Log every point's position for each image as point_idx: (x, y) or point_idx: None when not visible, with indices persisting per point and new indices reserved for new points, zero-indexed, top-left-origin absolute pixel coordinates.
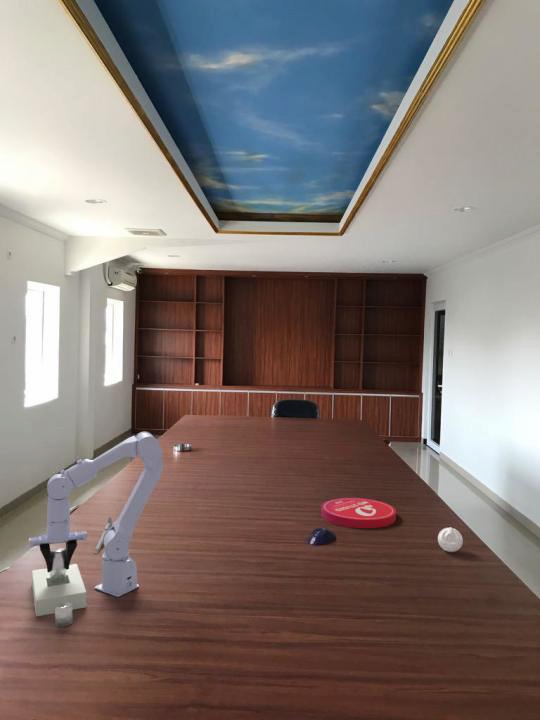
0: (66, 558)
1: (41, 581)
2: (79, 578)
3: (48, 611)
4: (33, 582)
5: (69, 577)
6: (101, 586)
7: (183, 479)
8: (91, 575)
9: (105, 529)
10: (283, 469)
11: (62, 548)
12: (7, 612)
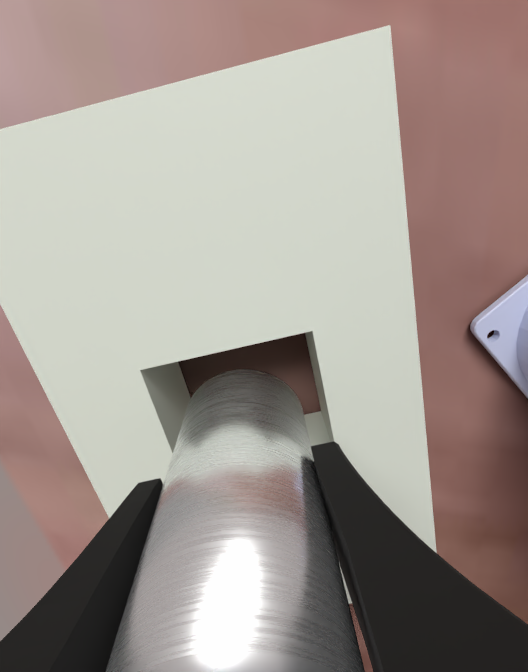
0: (348, 575)
1: (119, 419)
2: (407, 408)
3: None
4: (58, 406)
5: (329, 379)
6: (516, 329)
7: None
8: (471, 53)
9: None
10: None
11: (303, 669)
12: (32, 507)
